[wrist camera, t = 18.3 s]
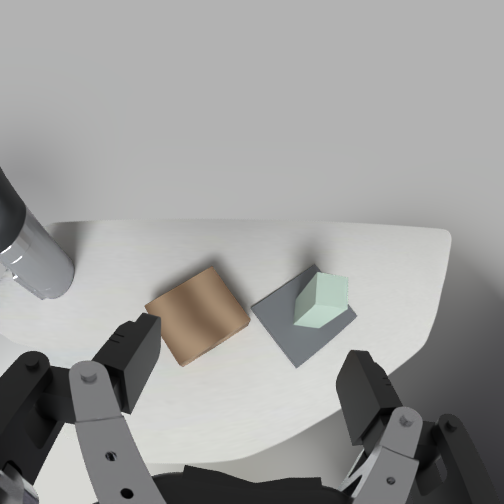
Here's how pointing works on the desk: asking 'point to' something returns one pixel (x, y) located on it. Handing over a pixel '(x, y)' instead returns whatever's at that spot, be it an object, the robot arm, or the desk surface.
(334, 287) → the sage block
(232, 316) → the walnut block
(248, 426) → the desk surface
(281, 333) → the charcoal mat
